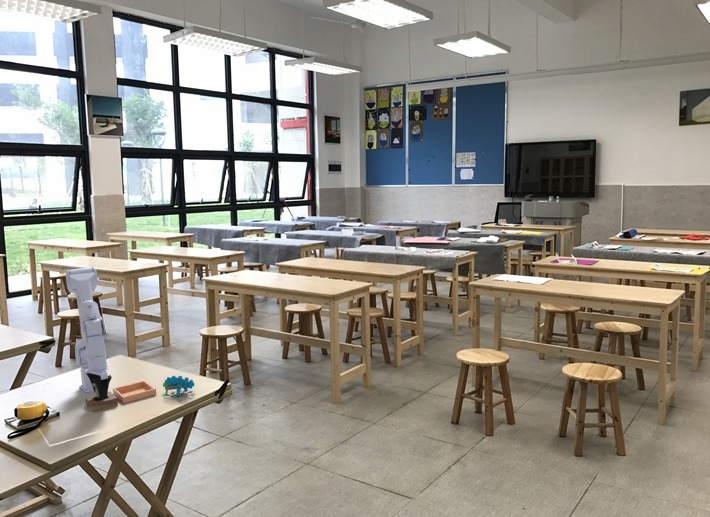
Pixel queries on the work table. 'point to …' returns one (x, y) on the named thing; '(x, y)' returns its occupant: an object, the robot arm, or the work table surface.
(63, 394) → the work table surface
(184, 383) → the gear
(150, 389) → the tray
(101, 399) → the pin
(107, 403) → the pin block
